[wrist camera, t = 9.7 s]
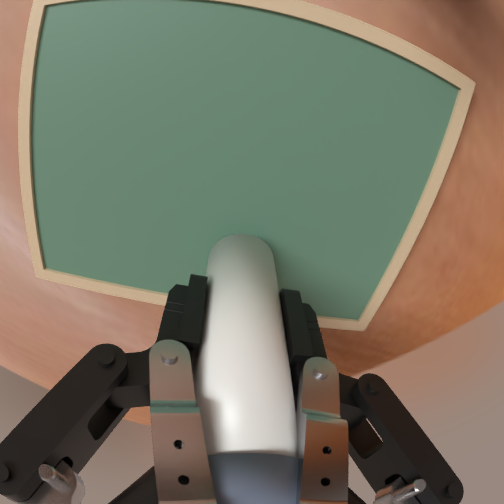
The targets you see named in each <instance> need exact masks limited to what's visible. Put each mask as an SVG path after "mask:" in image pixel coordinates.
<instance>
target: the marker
mask: <svg viewBox="0 0 504 504" xmlns="http://www.w3.org/2000/svg"><path fill="white" fill-rule="evenodd" d="M206 276H207V277H208V280H207V288H206V296H205V304H204V312H203V320H202V329H201V338H200V346H199V352H198V356H197V358H196V361H195V366H194V375H193V384H194V391H195V399H196V404H197V405H198V406H199V409H200V414H201V420H202V427H203V433H204V439H205V445H206V451H207V456H208V462H209V467H210V472H211V478H212V483H213V488H214V493H215V497H216V502H217V504H296V493H297V476H298V458H297V455H298V448H297V428H296V410H295V402H294V394H293V387H292V380H291V372H290V365H289V358H288V351H287V344H286V337H285V330H284V323H283V316H282V309H281V302H280V296H279V289H278V282H277V276H276V269H275V263H274V257H273V253H272V251H271V249H270V247H269V246H268V245H267V244H266V243H265V242H264V241H263V240H262V239H260V238H258V237H256V236H253V235H249V234H233V235H229V236H226V237H224V238H222V239H221V240H219V241H218V242H217V243H216V244H215V245H214V246H213V247H212V249H211V251H210V253H209V257H208V264H207V271H206Z"/></svg>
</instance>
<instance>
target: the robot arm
mask: <svg viewBox="0 0 504 504" xmlns="http://www.w3.org/2000/svg"><path fill="white" fill-rule="evenodd" d="M207 280H208V277H207V276H201V275H195V274H191V275H190V279H189V284H188V286H186V285H180V284H176V285H175V286H174V287H173V288H172V289H171V290H170V291H169V293H168V297H167V301H166V305H165V309H164V313H163V317H162V321H161V325H160V329H159V333H158V337H157V340H156V342H155V344H154V345H153V346H152V347H151V348H149V349H147V350H145V351H142V352H136V353H124V351H123V350H122V349H121V348H119V347H118V346H116V345H113V344H100V345H97V346H95V347H94V348H92V349H91V350H90V351H89V352H88V353H87V354H86V355H85V356H84V357H83V358H82V359H81V360H80V361H79V362H78V363H77V364H76V365H75V366H74V367H73V368H72V369H71V370H70V371H69V372H68V373H67V374H66V375H65V376H64V377H63V378H62V379H61V380H60V381H59V382H58V383H57V384H56V385H55V386H54V387H53V388H52V389H51V390H50V391H49V392H48V393H47V394H46V396H45V397H44V398H43V399H42V400H41V401H40V402H39V403H38V404H37V405H36V406H35V407H34V408H33V409H32V411H30V412H29V413H28V414H27V415H26V416H25V417H24V419H23V420H22V421H21V422H20V423H19V424H18V425H17V426H16V427H15V428H14V429H13V430H12V431H11V433H10V434H9V435H8V436H7V437H6V438H5V439H4V440H3V441H2V442H1V444H0V494H1V495H3V496H5V497H7V498H8V499H9V500H11V501H13V502H15V503H18V504H81V501H82V499H83V497H84V495H85V485H84V482H83V480H82V479H81V477H80V476H79V475H78V473H79V472H80V471H81V470H82V469H83V467H84V466H85V465H86V464H87V462H88V461H89V460H90V458H91V457H92V456H93V455H94V453H95V452H96V451H97V449H98V448H99V447H100V446H101V445H102V443H103V442H104V441H105V440H106V438H107V437H108V436H109V434H110V433H111V432H112V431H113V429H114V428H115V427H116V426H117V424H118V423H119V422H120V421H121V419H122V418H123V417H124V416H125V414H126V413H127V412H128V411H129V409H130V408H132V407H143V406H150V414H151V432H152V445H153V456H154V466H153V467H152V468H150V469H149V470H148V471H147V472H146V473H145V474H143V475H142V476H141V477H140V478H139V479H138V480H136V481H135V482H134V483H133V484H132V485H131V486H130V487H128V488H127V489H126V490H124V491H123V492H122V493H121V494H120V495H118V496H117V497H116V498H115V499H113V500H112V501H111V502H110V503H108V504H217V502H216V497H215V493H214V488H213V483H212V478H211V472H210V467H209V462H208V456H207V451H206V445H205V439H204V433H203V427H202V420H201V414H200V409H199V406H198V405H197V404H196V399H195V391H194V384H193V375H194V366H195V361H196V358H197V356H198V352H199V346H200V338H201V329H202V320H203V312H204V304H205V296H206V288H207ZM279 296H280V302H281V309H282V316H283V323H284V330H285V337H286V344H287V351H288V358H289V365H290V372H291V380H292V387H293V394H294V402H295V410H296V428H297V448H298V455H297V458H298V476H297V493H296V504H366V503H365V502H364V501H363V500H362V499H361V498H359V497H358V496H357V495H356V494H355V493H354V492H353V491H352V490H351V489H350V488H349V487H348V465H349V462H348V457H349V456H348V454H349V455H350V456H351V457H352V459H353V461H354V462H355V463H356V465H357V466H358V468H359V469H360V471H361V472H362V473H363V475H364V477H365V478H366V480H367V481H368V483H369V484H370V485H371V487H372V488H373V490H374V491H375V493H376V496H375V501H374V502H373V504H459V503H460V502H461V500H462V497H463V485H462V483H461V481H460V480H459V478H458V477H457V476H456V474H455V473H454V472H453V470H452V469H451V467H450V466H449V465H448V463H447V462H446V461H445V459H444V458H443V457H442V455H441V454H440V453H439V451H438V450H437V449H436V448H435V446H434V445H433V443H432V442H431V441H430V439H429V438H428V437H427V435H426V434H425V433H424V432H423V430H422V429H421V427H420V426H419V425H418V424H417V422H416V421H415V420H414V418H413V417H412V416H411V414H410V413H409V412H408V410H407V409H406V408H405V407H404V405H403V404H402V403H401V401H400V400H399V399H398V397H397V396H396V395H395V394H394V392H393V391H392V390H391V389H390V387H389V386H388V385H387V383H386V382H385V381H384V380H383V379H382V378H381V377H379V376H378V375H375V374H370V373H368V374H364V375H362V376H361V377H360V378H359V379H355V378H352V377H349V376H345V375H343V374H340V373H339V372H338V370H337V368H336V366H335V365H334V364H333V363H332V362H331V361H329V360H328V359H327V356H326V352H325V348H324V344H323V340H322V336H321V332H320V328H319V324H318V320H317V316H316V313H315V311H314V310H313V309H312V307H311V306H310V305H309V304H306V303H302V299H301V295H300V291H298V290H291V289H284V288H282V289H281V290H280V293H279ZM366 418H367V419H368V420H369V421H370V423H371V424H372V426H373V427H374V428H375V430H376V431H377V433H378V434H379V435H380V437H381V438H382V440H383V442H382V441H381V440H380V438H379V437H378V435H377V434H376V433H375V431H374V430H373V428H372V427H371V425H370V424H369V423H368V421H367V420H366Z"/></svg>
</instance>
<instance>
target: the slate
mask: <svg viewBox="0 0 504 504" xmlns="http://www.w3.org/2000/svg"><path fill="white" fill-rule="evenodd" d="M475 83H476V82H474V81H473V80H471V79H470V78H468V77H467V76H465V75H464V74H462V73H461V72H459V71H458V70H456V69H455V68H453V67H451V66H450V65H448V64H447V63H445V62H443V61H442V60H440V59H438V58H436V57H435V56H433V55H431V54H429V53H428V52H426V51H424V50H422V49H420V48H419V47H417V46H415V45H413V44H411V43H409V42H407V41H405V40H403V39H401V38H399V37H397V36H395V35H393V34H390V33H388V32H386V31H384V30H382V29H379V28H377V27H375V26H372V25H370V24H368V23H365V22H363V21H360V20H358V19H355V18H353V17H350V16H347V15H345V14H342V13H339V12H336V11H333V10H330V9H327V8H324V7H321V6H318V5H315V4H311V3H308V2H304V1H301V0H34V1H33V5H32V9H31V14H30V18H29V23H28V28H27V34H26V40H25V46H24V53H23V60H22V69H21V79H20V92H19V113H18V147H19V169H20V182H21V193H22V202H23V210H24V217H25V224H26V230H27V236H28V242H29V247H30V252H31V257H32V262H33V266H34V271H35V275H36V277H37V278H40V279H44V280H48V281H52V282H56V283H60V284H64V285H69V286H73V287H77V288H81V289H86V290H90V291H95V292H99V293H104V294H108V295H113V296H118V297H123V298H128V299H133V300H138V301H143V302H148V303H153V304H159V305H164V306H165V305H166V301H167V297H168V293H169V291H170V290H171V289H172V288H173V287H174V286H175V285H176V284H180V285H186V286H188V284H189V279H190V275H191V274H195V275H201V276H206V271H207V264H208V257H209V253H210V251H211V249H212V247H213V246H214V245H215V244H216V243H217V242H218V241H219V240H221V239H222V238H224V237H226V236H229V235H233V234H249V235H253V236H256V237H258V238H260V239H262V240H263V241H264V242H265V243H266V244H267V245H268V246H269V247H270V249H271V251H272V253H273V257H274V263H275V269H276V276H277V282H278V289H279V293H280V290H281V289H282V288H284V289H291V290H298V291H300V295H301V299H302V303H306V304H309V305H310V306H311V307H312V309H313V310H314V311H315V313H316V316H317V320H318V324H319V327H321V328H331V329H342V330H354V331H365V329H366V327H367V326H368V324H369V323H370V321H371V319H372V318H373V316H374V315H375V313H376V311H377V310H378V308H379V306H380V305H381V303H382V301H383V300H384V298H385V296H386V294H387V293H388V291H389V289H390V287H391V286H392V284H393V282H394V280H395V279H396V277H397V275H398V273H399V271H400V269H401V268H402V266H403V264H404V262H405V260H406V258H407V256H408V254H409V252H410V250H411V248H412V246H413V244H414V242H415V240H416V238H417V236H418V234H419V232H420V230H421V228H422V226H423V224H424V222H425V220H426V218H427V215H428V213H429V211H430V209H431V207H432V204H433V202H434V200H435V198H436V195H437V193H438V191H439V188H440V186H441V183H442V181H443V179H444V176H445V174H446V171H447V169H448V166H449V163H450V161H451V158H452V156H453V153H454V150H455V147H456V145H457V142H458V139H459V136H460V133H461V130H462V127H463V124H464V121H465V118H466V115H467V111H468V108H469V105H470V101H471V98H472V94H473V91H474V87H475Z"/></svg>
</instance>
